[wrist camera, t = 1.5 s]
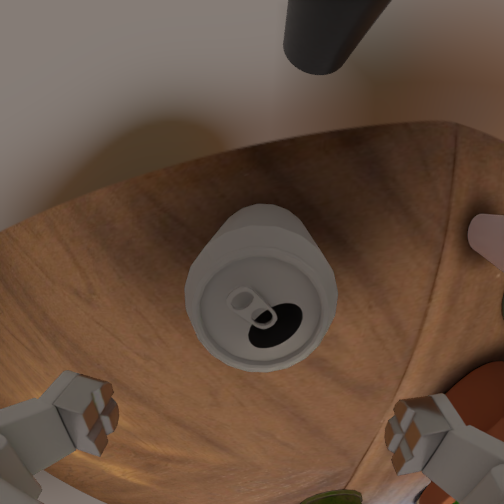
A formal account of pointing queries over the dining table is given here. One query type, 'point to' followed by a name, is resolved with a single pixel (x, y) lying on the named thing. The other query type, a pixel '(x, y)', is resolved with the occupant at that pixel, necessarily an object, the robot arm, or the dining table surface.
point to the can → (261, 291)
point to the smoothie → (488, 238)
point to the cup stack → (503, 307)
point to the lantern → (335, 498)
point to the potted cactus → (475, 413)
